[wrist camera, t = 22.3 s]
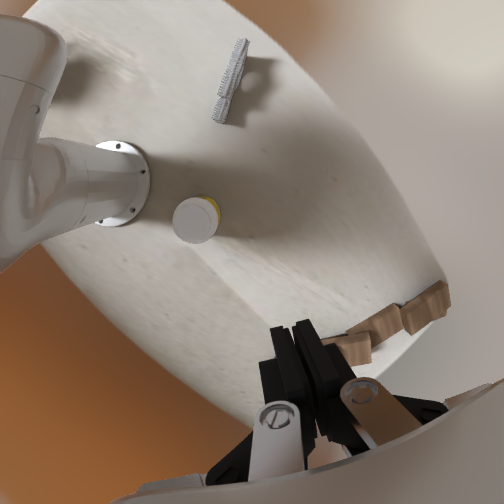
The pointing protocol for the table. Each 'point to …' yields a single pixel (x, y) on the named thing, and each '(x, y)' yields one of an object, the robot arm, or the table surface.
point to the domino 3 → (425, 307)
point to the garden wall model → (231, 80)
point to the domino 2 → (380, 325)
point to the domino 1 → (353, 348)
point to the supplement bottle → (196, 219)
